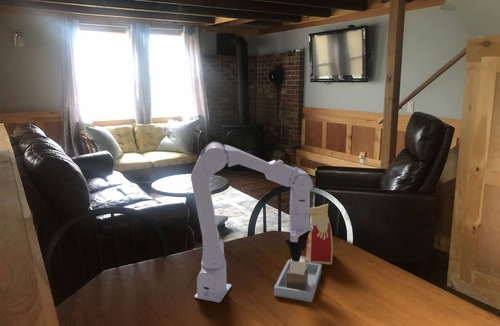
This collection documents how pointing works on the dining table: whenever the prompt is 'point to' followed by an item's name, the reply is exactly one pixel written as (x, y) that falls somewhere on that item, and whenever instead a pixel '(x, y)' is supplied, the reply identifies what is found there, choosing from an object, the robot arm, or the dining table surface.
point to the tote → (295, 294)
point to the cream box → (298, 266)
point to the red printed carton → (320, 237)
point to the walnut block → (297, 280)
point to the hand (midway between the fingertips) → (298, 255)
